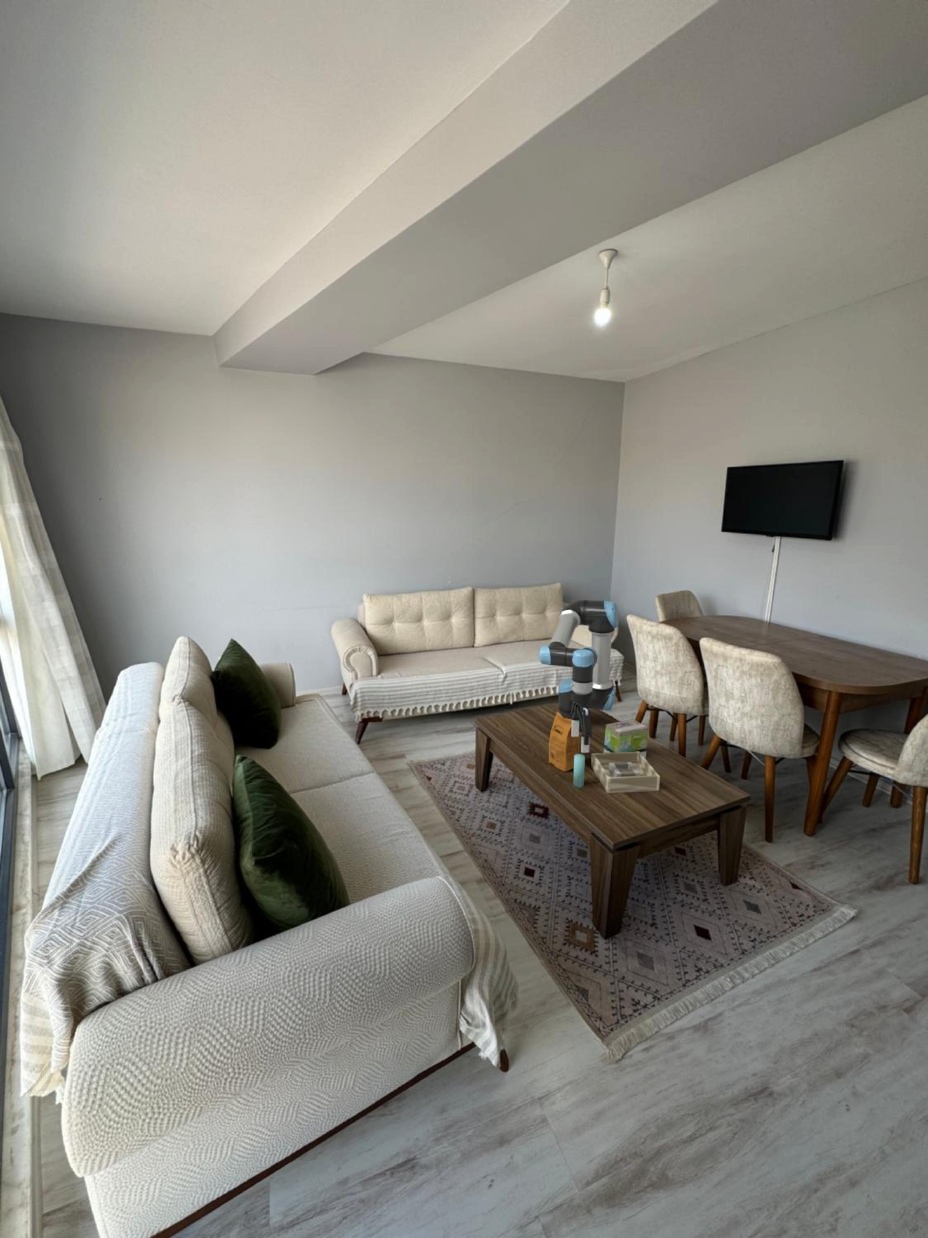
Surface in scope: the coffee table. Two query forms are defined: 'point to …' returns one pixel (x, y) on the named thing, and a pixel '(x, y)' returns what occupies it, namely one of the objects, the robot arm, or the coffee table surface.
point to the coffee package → (563, 744)
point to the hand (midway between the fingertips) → (579, 744)
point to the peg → (579, 770)
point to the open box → (624, 772)
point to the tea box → (626, 737)
